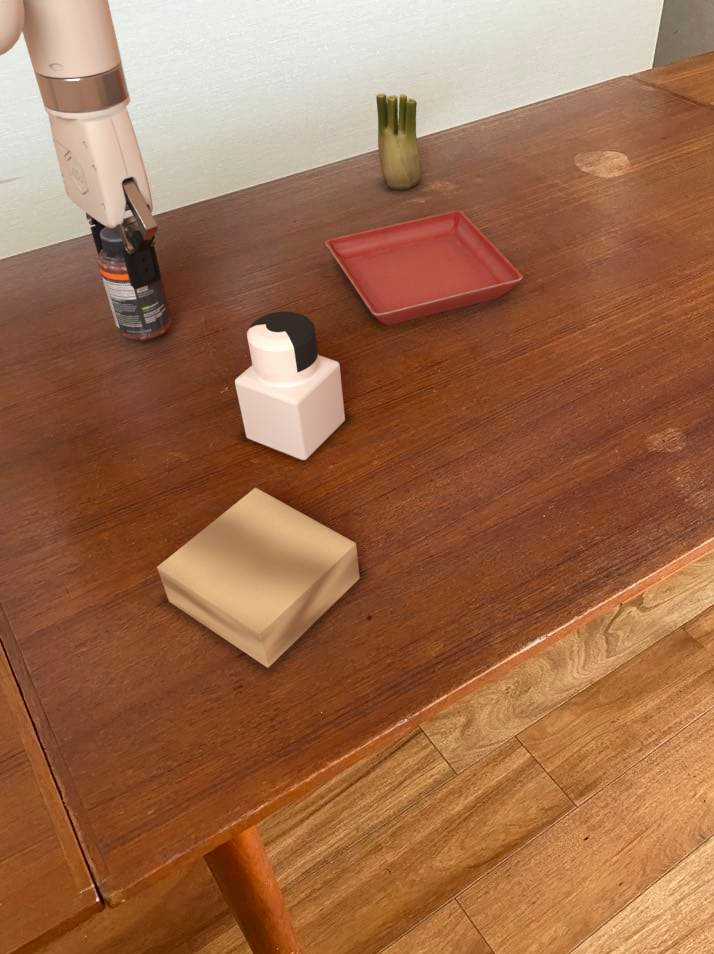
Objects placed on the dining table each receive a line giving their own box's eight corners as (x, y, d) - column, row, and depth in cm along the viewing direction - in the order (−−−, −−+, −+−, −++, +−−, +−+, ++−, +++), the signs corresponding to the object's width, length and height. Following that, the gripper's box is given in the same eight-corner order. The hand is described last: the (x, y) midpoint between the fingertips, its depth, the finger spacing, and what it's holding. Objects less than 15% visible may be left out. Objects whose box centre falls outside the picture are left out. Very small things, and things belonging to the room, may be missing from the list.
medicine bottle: (288, 399, 88) (271, 294, 79) (346, 421, 86) (336, 315, 77) (245, 439, 84) (222, 333, 75) (305, 463, 81) (288, 356, 73)
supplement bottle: (140, 308, 98) (115, 212, 90) (183, 321, 96) (162, 223, 88) (106, 335, 94) (77, 236, 86) (150, 348, 93) (124, 249, 84)
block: (268, 670, 65) (259, 634, 62) (169, 603, 70) (156, 567, 67) (360, 580, 71) (356, 543, 68) (263, 524, 76) (255, 487, 73)
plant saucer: (375, 340, 95) (374, 314, 92) (325, 263, 106) (322, 238, 104) (523, 304, 99) (526, 277, 97) (459, 233, 111) (460, 209, 108)
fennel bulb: (375, 183, 121) (370, 92, 112) (404, 174, 123) (402, 84, 114) (397, 198, 118) (394, 106, 109) (427, 189, 120) (426, 97, 111)
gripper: (3, 71, 80) (60, 252, 93) (89, 125, 71) (139, 318, 84) (78, 53, 84) (123, 230, 97) (169, 103, 75) (205, 291, 88)
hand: (130, 269), depth 90 cm, fingers closed on supplement bottle, 6 cm apart
